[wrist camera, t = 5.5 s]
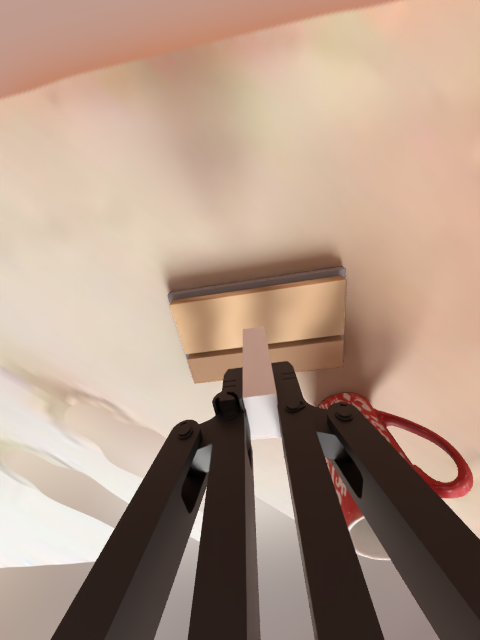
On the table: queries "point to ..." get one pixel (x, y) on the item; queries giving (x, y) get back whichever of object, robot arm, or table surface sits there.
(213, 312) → the plank
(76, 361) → the table surface
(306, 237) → the table surface
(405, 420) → the mug
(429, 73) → the table surface
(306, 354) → the floor panel
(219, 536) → the robot arm
